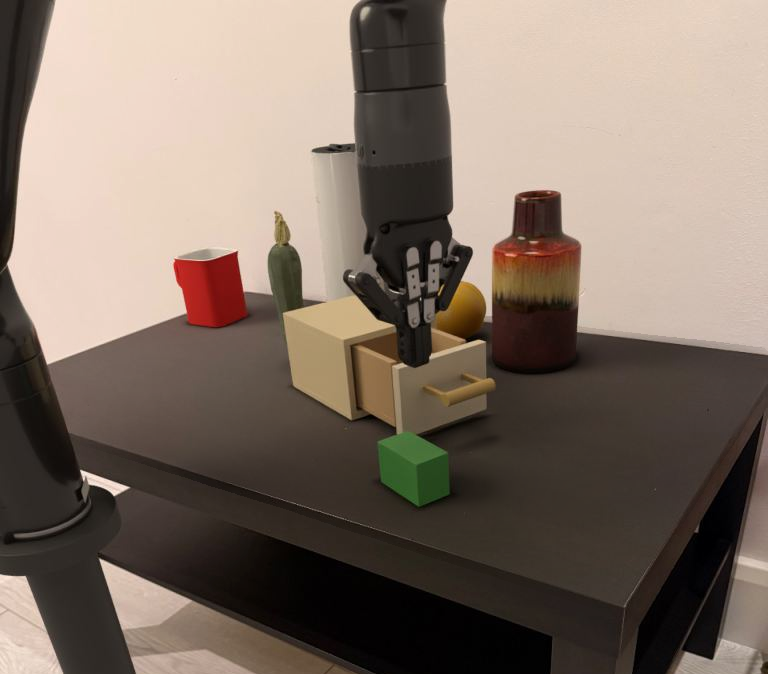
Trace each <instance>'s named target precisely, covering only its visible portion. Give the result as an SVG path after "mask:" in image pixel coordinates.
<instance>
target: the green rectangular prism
mask: <svg viewBox="0 0 768 674" xmlns="http://www.w3.org/2000/svg"><path fill="white" fill-rule="evenodd" d="M377 451H378V452H377V453H378V464H379V473H380V482H381V483H382V484H383V485H385V486H387V487H388V488H390V489H391V490H393V491H394V492H395V493H397V494H399V495H400V496H401V497H403V498H405V500H406V499H407V500H408V501H409V502H410V503H412V504H413V505H415V506H417V507H418V508H420V507H423V506H425V505H428V504H429V503H432V502H435V501H437V500H439V499H442V498H444V497H446V496H449V495H451V493H450V491H451V490H450V466H449V465H450V464H449V463H450V462H449V452H448V451H446V450H444V449H443V448H440V447H439V446H436V445H435V444H433V443H432V442H429V441H428V440H426V439H424V438H422V437H420V436H419V435H418V434H416V435H415V434H413V433H411V432H410V431H406V432H403V433H400V434H398V435H397V434H395V435H392V436H389V437H386V438H384V439H381V440H378V441H377Z"/></svg>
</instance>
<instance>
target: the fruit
mask: <svg viewBox="0 0 768 674" xmlns="http://www.w3.org/2000/svg"><path fill="white" fill-rule="evenodd" d="M443 286H444V285H443ZM443 286H442V287H441V289H440V291H439V294H438V295H440V293H441V290H442V288H443ZM486 315H487V303H486V299H485V296H484V294H483V293H482V291H481V290H480V289H479V287H477V286H476V285H474V284H473V283H471V282H468V281H464V280H461V282H460V284H459V286H458V288H457V290H456V292H455V295H454V297H453V299H452V301H451V303H450V305H449V308H448V309H447V310H446V311H439V312H438V313H437V314H436V325H437V330H439V331H442V332H445V333H448V334H451V335H453V336H456V337H459V338H462V339H464V340H466V339H469V338H471V337H473V336H474V335H476V334H477V333H478V332H479V331H481V329H482V327H483V323H484V321H485V318H486Z"/></svg>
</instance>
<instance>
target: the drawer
mask: <svg viewBox="0 0 768 674" xmlns="http://www.w3.org/2000/svg"><path fill="white" fill-rule="evenodd" d="M431 336H432V339H431V340H432V343H431V344H432V353H431V356H429V363H428V364H425V365H423V366H420V367H417V368H413V367H410V366H407V365H405V364H404V363H403V362H402V360H400V359H399V356H398V348H397V345H398V344H397V334H396V332H395V333H391V334H388V335H384V336H381V337H377V338H374V339H370V340H367V341H363V342H359V343H356V344H352V345H350V350H351V360H352V369H353V379H354V389H355V399H356V406H358V407H360V408H362V409H363V410H365V411H367V412H369V413H371V414H370V415H372V416H374V417H376V418H378V419H380V420H382V421H383V422H385V423H387V424H389V425H390V426H392V427H394V428H396V435H398V434H400V433H403V432H406V431H410V432H411V433H413V434H415V435H419V434H422V433H424V432H427V431H430V430H433V429H435V428H438V427H441V426H444V425H447V424H449V423H452V422H456V421H457V420H460V419H464V418H466V417H470V416H472V415H475V414H477V413H480V412H482V411H485V410H487V409H488V408H487V394H489V393H492V392H494V391H495V390H496V382H495V380H494V379H493V378H492V377H488V378H487V341H484V340H481V339H476V340H472V341H470V342H467V340H466V339H462V338H459V337H456V336H453V335H451V334H448V333H445V332H442V331H439V330H437V329H434V328H431Z"/></svg>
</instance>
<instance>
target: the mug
mask: <svg viewBox="0 0 768 674" xmlns="http://www.w3.org/2000/svg"><path fill="white" fill-rule="evenodd" d="M173 260H174V261H173V264H172V266H173V267H172V268H173V272H174V276H175V281H176V283H177V285H178V286H179V288H180V289H181V291H182V297H183V301H184V306H185V310H186V316H187V320H188V323H189V325H193V326H194V325H195V326H200V327H206V328H207V327H208V328H222V327H226V326H228V325H231V324H232V323H235V322H237V321H240V320H242V319H244V318H246V317H248V310H247V304H246V298H245V291H244V287H243V280H242V273H241V269H240V263H239V249H238V248H230V247H215V246H207V247H200V248H197V249H193V250H191V251H188V252H184V253H181V254H178V255H175V256H174V257H173Z"/></svg>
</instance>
